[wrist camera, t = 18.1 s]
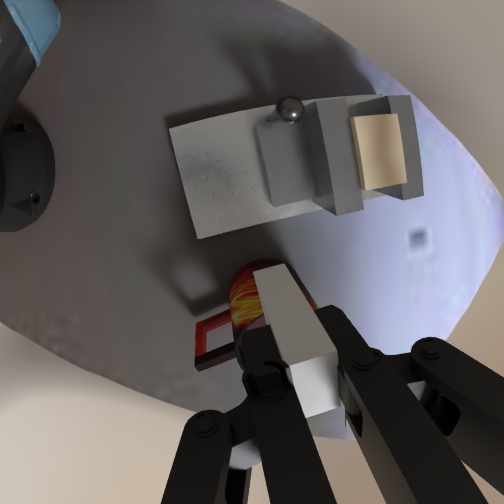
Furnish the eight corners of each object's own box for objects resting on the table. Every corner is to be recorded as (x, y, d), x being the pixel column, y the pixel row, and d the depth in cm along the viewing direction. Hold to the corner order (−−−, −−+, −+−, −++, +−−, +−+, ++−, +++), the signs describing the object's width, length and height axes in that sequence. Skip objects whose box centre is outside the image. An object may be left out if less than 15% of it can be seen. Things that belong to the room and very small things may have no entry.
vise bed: (198, 235, 35) (194, 261, 27) (170, 129, 31) (156, 123, 23) (391, 190, 36) (430, 203, 28) (376, 95, 32) (415, 86, 24)
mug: (194, 320, 39) (190, 381, 28) (261, 243, 37) (283, 285, 25) (249, 353, 42) (260, 414, 31) (314, 285, 40) (349, 335, 28)
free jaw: (272, 212, 34) (289, 231, 26) (250, 110, 30) (261, 98, 22) (336, 197, 34) (369, 212, 26) (318, 100, 30) (348, 87, 22)
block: (333, 180, 33) (365, 190, 26) (323, 123, 31) (353, 117, 24) (369, 174, 34) (406, 182, 26) (360, 118, 31) (397, 113, 24)
